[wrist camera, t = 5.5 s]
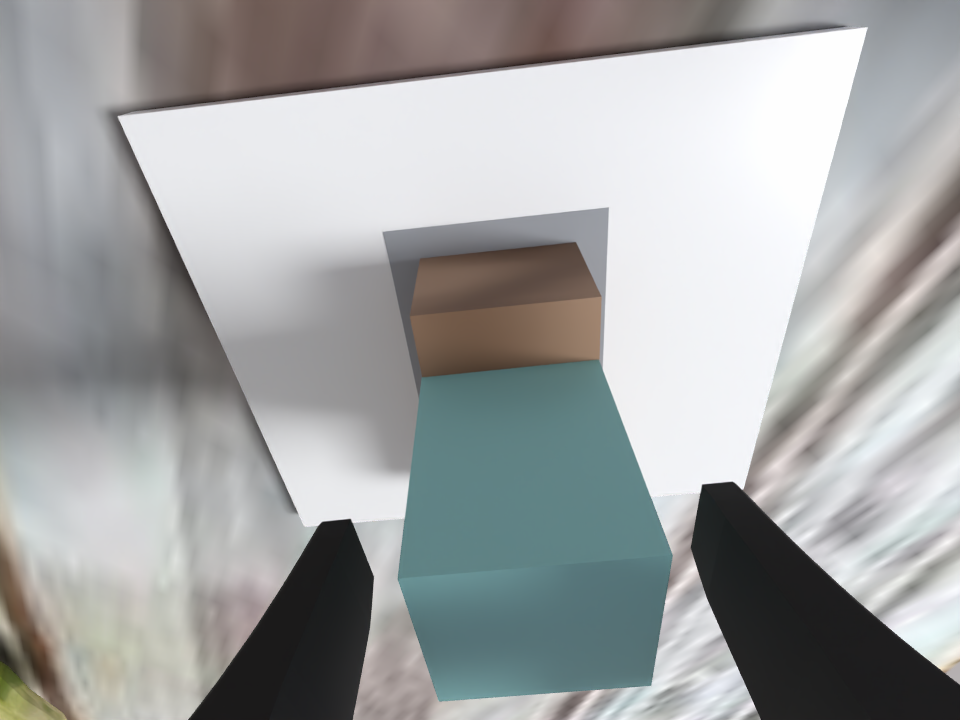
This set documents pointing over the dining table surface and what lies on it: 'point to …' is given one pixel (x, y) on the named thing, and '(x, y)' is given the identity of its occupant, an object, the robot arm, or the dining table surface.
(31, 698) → the lettuce
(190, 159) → the plate
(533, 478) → the teal block
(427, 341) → the base brick
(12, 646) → the dining table surface
